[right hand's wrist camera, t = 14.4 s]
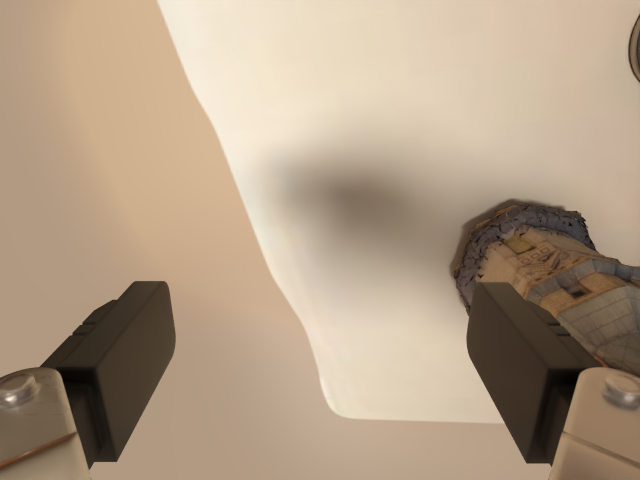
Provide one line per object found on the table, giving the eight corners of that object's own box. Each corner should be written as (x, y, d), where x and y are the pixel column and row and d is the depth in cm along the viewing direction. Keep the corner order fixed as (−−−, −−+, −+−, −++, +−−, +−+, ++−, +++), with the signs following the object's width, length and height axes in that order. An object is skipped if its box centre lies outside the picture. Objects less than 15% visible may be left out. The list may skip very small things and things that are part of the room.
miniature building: (596, 205, 43) (1112, 443, 15) (544, 320, 48) (861, 662, 20) (472, 180, 42) (775, 383, 14) (432, 300, 47) (598, 629, 19)
